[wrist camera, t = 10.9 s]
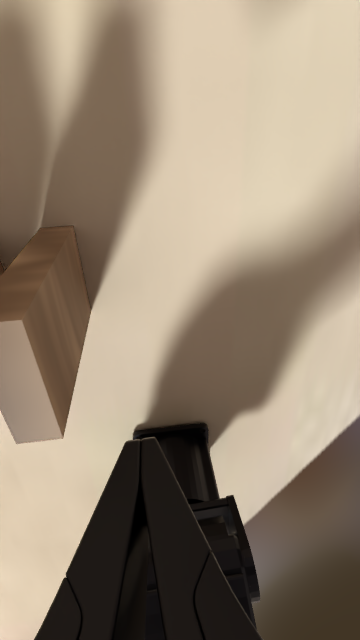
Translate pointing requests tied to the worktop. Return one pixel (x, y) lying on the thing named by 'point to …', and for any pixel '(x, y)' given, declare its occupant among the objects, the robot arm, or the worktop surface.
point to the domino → (42, 334)
